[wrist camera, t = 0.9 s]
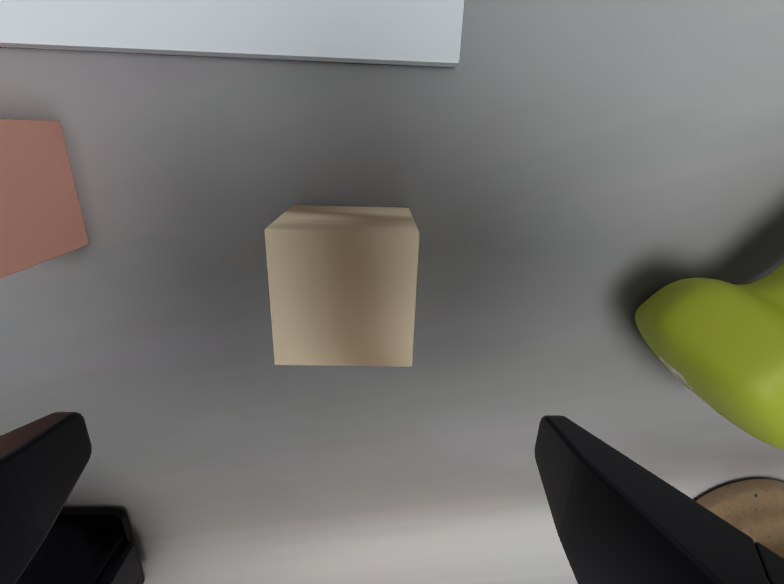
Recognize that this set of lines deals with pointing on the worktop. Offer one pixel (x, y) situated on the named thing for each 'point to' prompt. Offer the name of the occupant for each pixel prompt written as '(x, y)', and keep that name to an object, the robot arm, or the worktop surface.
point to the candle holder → (752, 509)
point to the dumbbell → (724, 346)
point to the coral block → (36, 196)
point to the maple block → (343, 285)
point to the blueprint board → (244, 28)
